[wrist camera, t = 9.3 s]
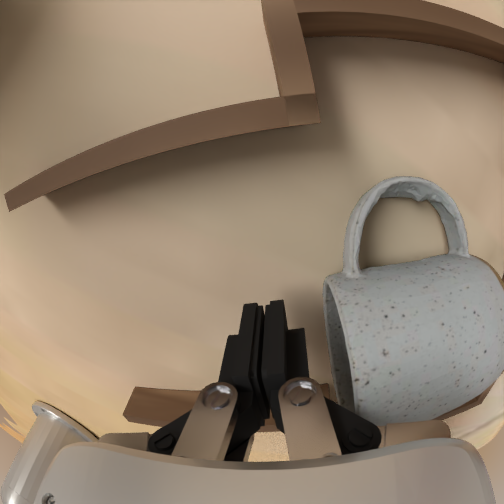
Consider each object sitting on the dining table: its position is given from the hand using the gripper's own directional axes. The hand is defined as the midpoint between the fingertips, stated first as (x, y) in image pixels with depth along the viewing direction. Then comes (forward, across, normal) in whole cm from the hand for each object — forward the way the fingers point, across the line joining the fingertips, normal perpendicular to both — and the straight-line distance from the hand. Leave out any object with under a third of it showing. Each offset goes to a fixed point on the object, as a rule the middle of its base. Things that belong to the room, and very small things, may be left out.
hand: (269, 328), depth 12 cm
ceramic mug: (+3, -6, 0) cm, 7 cm away
